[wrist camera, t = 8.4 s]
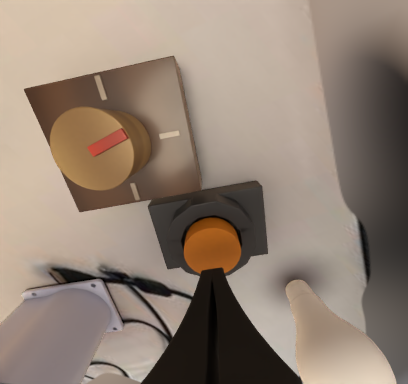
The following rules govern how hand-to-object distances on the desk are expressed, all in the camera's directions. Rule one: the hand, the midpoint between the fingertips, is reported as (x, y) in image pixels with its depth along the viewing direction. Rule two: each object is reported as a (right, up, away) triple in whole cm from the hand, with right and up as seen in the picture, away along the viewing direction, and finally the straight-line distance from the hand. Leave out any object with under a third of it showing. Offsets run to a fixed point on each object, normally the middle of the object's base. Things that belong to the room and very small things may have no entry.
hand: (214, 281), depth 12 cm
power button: (0, +2, +4) cm, 5 cm away
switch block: (0, +3, +7) cm, 8 cm away
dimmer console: (-7, +10, +4) cm, 13 cm away
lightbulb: (+10, -5, +10) cm, 15 cm away
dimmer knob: (-7, +9, +2) cm, 11 cm away
